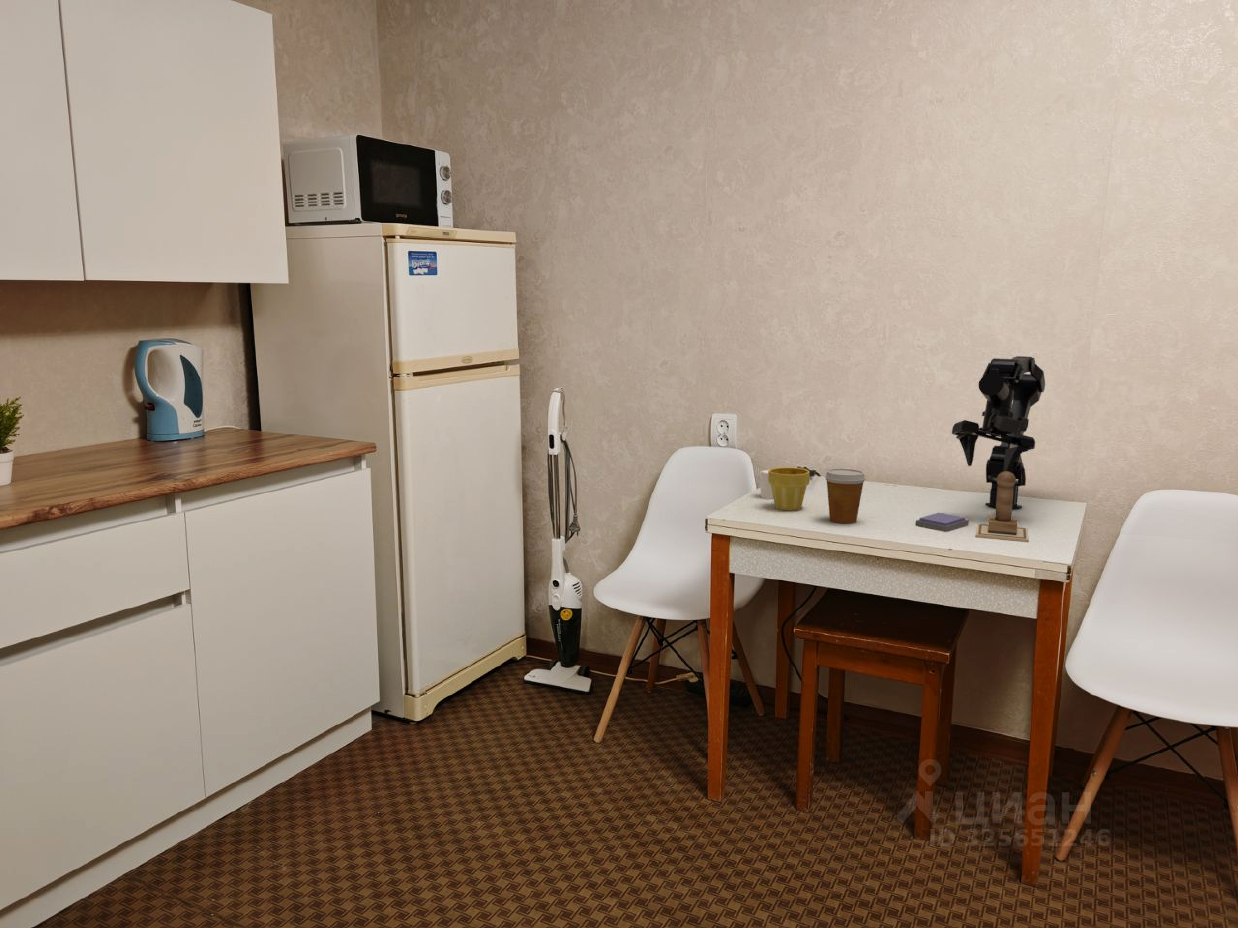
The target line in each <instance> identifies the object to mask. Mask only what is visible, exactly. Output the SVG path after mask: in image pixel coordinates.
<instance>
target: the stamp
mask: <svg viewBox="0 0 1238 928" xmlns="http://www.w3.org/2000/svg"><path fill="white" fill-rule="evenodd" d="M1016 480H1017V479H1016V478H1015V476H1014V474H1012V473H1011V472H1008V471H1004V472H1001V473H1000V474H999V475H998V477H997V484H998V488H997V500H996V508H995V513H994V515H995V516H992V515H989V517H988V524H987V525H988V533H997V534H1007V535H1016V534H1017V527H1018V518H1016V517H1012V513H1013V509H1012V503H1013V490H1014V484H1015V482H1016Z"/></svg>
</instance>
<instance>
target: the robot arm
mask: <svg viewBox="0 0 1238 928" xmlns="http://www.w3.org/2000/svg"><path fill="white" fill-rule="evenodd" d="M990 360H991V361H990V362H988V364H987V366H986V368H985V370H984V372H983V374H982V376H981V378H980V379H979V381H978V389H979V391H980V393H981V394H982V395H983V397H984V398H985V399H986V403H985V410H984V411H982V414H981V416H982V417H983V422H982V427H980V425H979V423H978V422H975V421H971V420H970V421H969V420H966V419H964V420H960V421H958V422H955V424H953V426H952V429H951V435H954V436H956V439H957V440H959V442H960V445H961V447H962V449H963V453H964V456H965V461H966V464H967V466H968V467H972V465H973V461H974V455H975V446H976V442H977V441H978V438H984V439H989V440H993V441H996V442H1001V443H1000V445H994V446H993V447H992V451H991V454H990V457H989V458H988V459H987V461H986V466H985V478H986V479H985V480H986V481H985V483H987V484H991V489H990V493H989V502H985V504H984V505H985V506H988V507H991V508H992V507H993V508H995V509H996V500H997V488H998V484H997V477H998V475H999V474H1000V473H1001V472H1004V471H1008V472H1011V473H1012V474H1014V476H1015V478H1016V482H1015V484H1014V490H1013V503H1012V510H1015V509H1022V507H1023V505H1020V504H1018V497H1019V487H1023V486H1024V487H1025V486H1026V485H1027V484H1026V483H1027V476H1026V475H1027V474H1026V469H1025V467H1024V461H1023V459H1022V454H1023V453H1026V452H1028V451H1031V450H1033V449H1034V450H1035V447H1036V440H1035V438H1034V437H1032V436H1030V435H1029V436H1028V435H1025V434H1024V433H1025V432H1027V430H1028V427H1029V423H1030V422H1029V420H1030V419H1029V414H1030V411H1031V408H1032V406H1034V405H1035V404H1037V403H1038V402H1039V401H1040V399H1041V397H1042V396H1041V395H1042V393H1044V392H1045V387H1046V379H1045V373H1044V370H1043V369H1042V368H1041V367H1039V366H1038V365H1037V364H1036V360H1035V358H1034V357H1032V356H1021V355H1020V356H1019V355H1018V356H1017V355H1016V356H1013V357H1012V358H995V357H994V358H992V359H990Z"/></svg>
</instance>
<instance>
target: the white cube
mask: <svg viewBox="0 0 1238 928" xmlns="http://www.w3.org/2000/svg"><path fill="white" fill-rule="evenodd" d="M769 470H770V469H763V470H762V469H761V470H760V471H759V489H760V497H761V498H762V499H767V500H774V498H773V493H772V488H771V484H769V481H768V471H769Z"/></svg>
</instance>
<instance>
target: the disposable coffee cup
mask: <svg viewBox="0 0 1238 928" xmlns="http://www.w3.org/2000/svg"><path fill="white" fill-rule="evenodd" d="M824 478H825V481H826V488H827V502H828V513H829V514H828V515H829V521H831V522H833V523H836V524H847V525H848V524H854V523H856V522H857V519H858V514H859V510H860V509H859V507H860V503H861V498H862V492H863V486H864V483H865V480H866V476H865V473H864V471H861V470H858V469H854V468H853V469H851V468H832V469H831V468H830V469H828V470H827V471H826V474H825V475H824Z"/></svg>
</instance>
